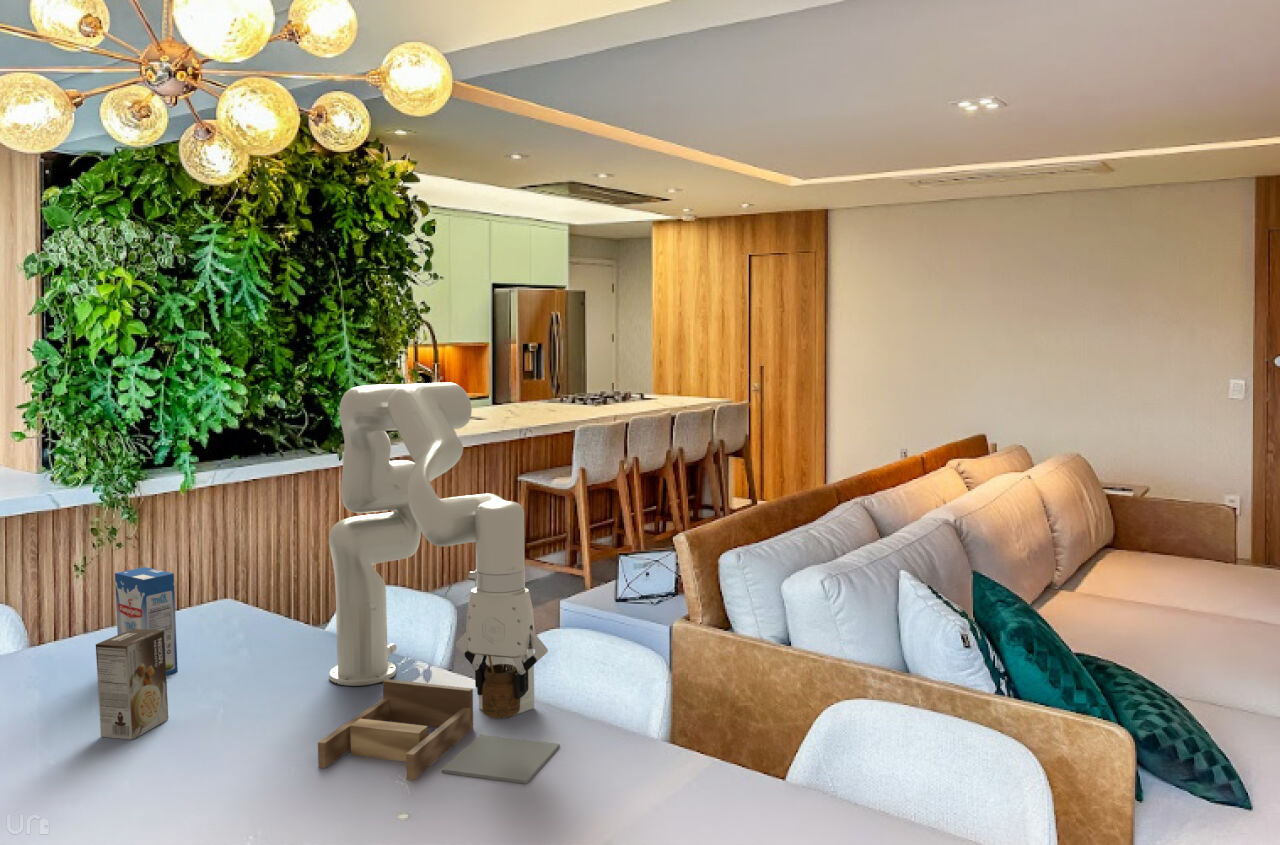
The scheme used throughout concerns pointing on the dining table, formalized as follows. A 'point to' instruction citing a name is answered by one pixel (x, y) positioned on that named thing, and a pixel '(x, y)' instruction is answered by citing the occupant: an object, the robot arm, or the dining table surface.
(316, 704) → the dining table surface
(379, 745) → the oak offcut block
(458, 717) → the walnut u-shaped frame
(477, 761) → the slate mat
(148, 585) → the milk carton
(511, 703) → the utensil holder
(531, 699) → the supplement box
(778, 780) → the dining table surface
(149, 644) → the coffee box
